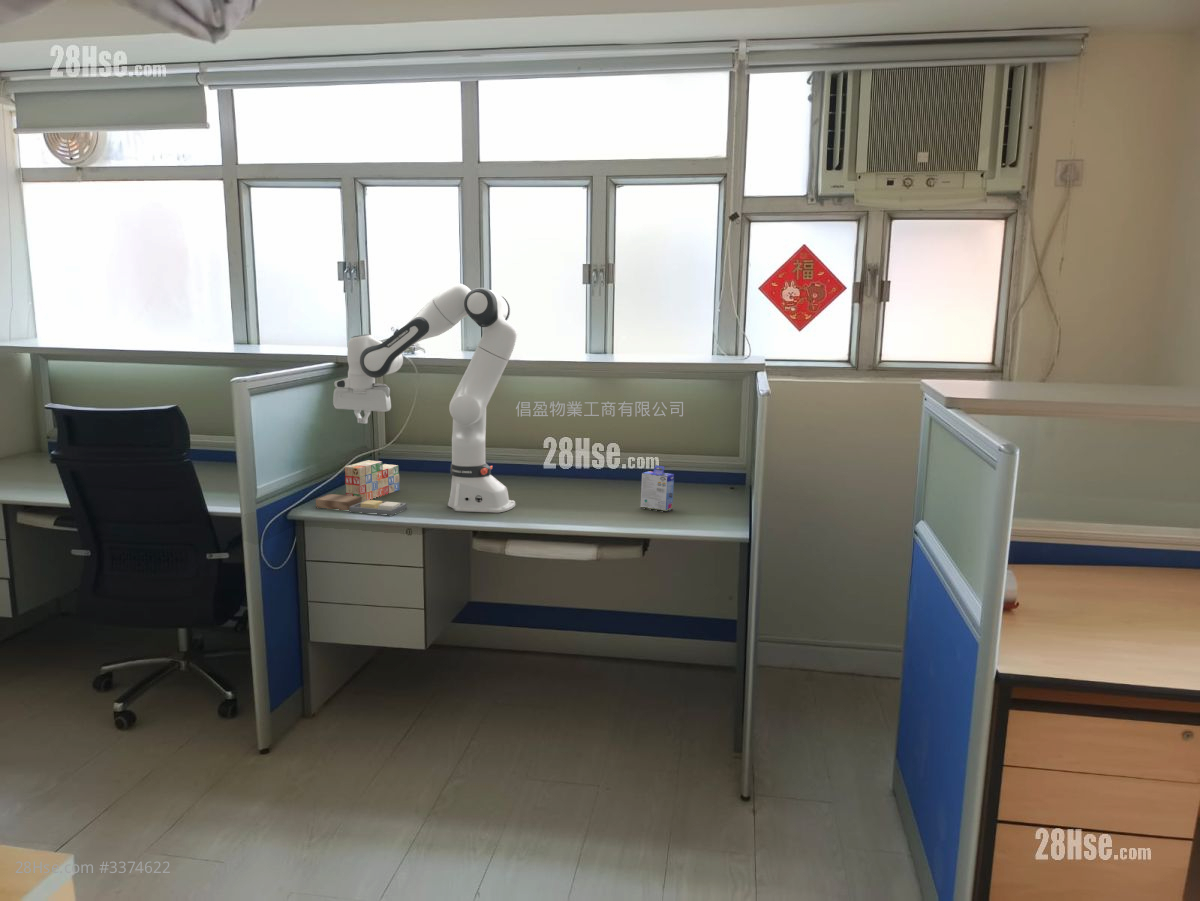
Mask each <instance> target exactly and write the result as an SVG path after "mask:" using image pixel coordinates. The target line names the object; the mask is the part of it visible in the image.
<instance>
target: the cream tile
mask: <svg viewBox="0 0 1200 901" xmlns="http://www.w3.org/2000/svg"><path fill="white" fill-rule="evenodd" d="M400 503H401V502H396V501H395V502H394V501H385V502H384V503H382V504H380V505H379V509H386V510H391V509H393V508H395V507H398V506H400Z"/></svg>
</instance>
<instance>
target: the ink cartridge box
mask: <svg viewBox="0 0 1200 901" xmlns="http://www.w3.org/2000/svg"><path fill="white" fill-rule="evenodd" d="M665 468H666V467H665V466H663V465H657V464H656V465H655V466H654V469H653V471H651V470H650V471H649V470H648V471H644V472H642V473H641V488H640V507H648V508H655V509H661V510H667V509H669V508H672V507H673V506H674V486H675V485H674V484H675V474H674V473H668V472H667V473H666V472H665ZM673 508H674V507H673Z"/></svg>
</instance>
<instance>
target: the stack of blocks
mask: <svg viewBox="0 0 1200 901" xmlns="http://www.w3.org/2000/svg"><path fill="white" fill-rule="evenodd" d="M399 470H400V468H399V465H398V464H397V465H396V464H387V463H383V461H380V460H370V459H368V460H363V461H360V462H357V463H353V464H349V465H345V466H344V473H345V474H344V481H345V482H344V484H345V495H348V496H359V497H362V501H364V500H370V499H371V500H374V499H373V498H375V499H377V498H376V497H378V498H380V497H383V496H386V495H388V493H389V494H392V493H395V492H397V491H400V473H399V472H400V471H399ZM385 494H386V495H385ZM382 495H383V496H382ZM379 496H380V497H379Z"/></svg>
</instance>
